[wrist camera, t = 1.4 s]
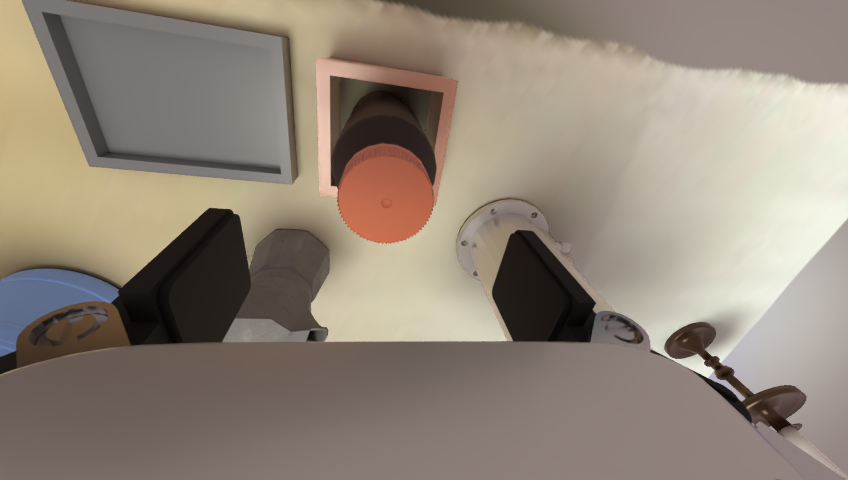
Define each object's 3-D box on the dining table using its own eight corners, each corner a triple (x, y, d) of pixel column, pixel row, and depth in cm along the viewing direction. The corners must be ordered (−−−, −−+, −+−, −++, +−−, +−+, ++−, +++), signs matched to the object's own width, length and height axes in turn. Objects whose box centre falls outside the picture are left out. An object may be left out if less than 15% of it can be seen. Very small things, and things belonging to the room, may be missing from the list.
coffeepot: (329, 212, 37) (291, 324, 21) (356, 272, 42) (343, 398, 26) (207, 247, 37) (85, 381, 22) (249, 302, 42) (174, 443, 27)
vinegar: (346, 91, 30) (302, 136, 13) (414, 89, 31) (455, 129, 14) (355, 159, 34) (330, 263, 17) (416, 156, 34) (451, 253, 17)
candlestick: (695, 312, 55) (1068, 613, 25) (727, 328, 59) (1083, 607, 29) (648, 350, 59) (919, 646, 29) (680, 363, 63) (949, 637, 33)
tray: (289, 38, 28) (281, 36, 25) (297, 176, 34) (292, 184, 32) (50, -3, 24) (18, -8, 22) (109, 158, 31) (89, 166, 29)
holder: (443, 76, 31) (458, 80, 25) (426, 180, 36) (435, 205, 30) (329, 57, 29) (315, 57, 23) (330, 171, 34) (319, 195, 28)
